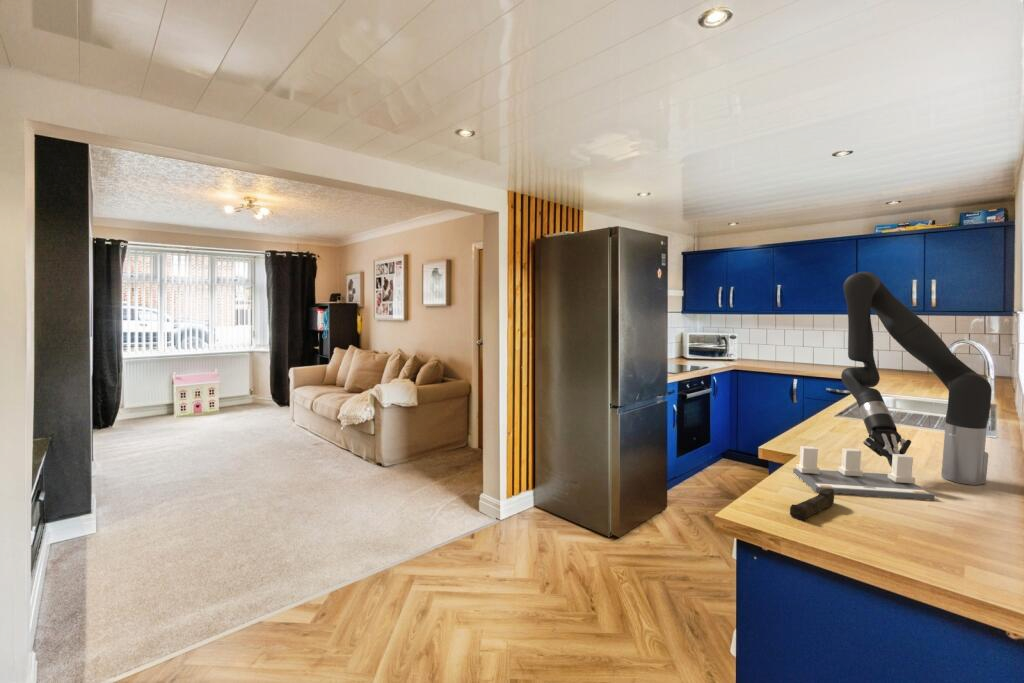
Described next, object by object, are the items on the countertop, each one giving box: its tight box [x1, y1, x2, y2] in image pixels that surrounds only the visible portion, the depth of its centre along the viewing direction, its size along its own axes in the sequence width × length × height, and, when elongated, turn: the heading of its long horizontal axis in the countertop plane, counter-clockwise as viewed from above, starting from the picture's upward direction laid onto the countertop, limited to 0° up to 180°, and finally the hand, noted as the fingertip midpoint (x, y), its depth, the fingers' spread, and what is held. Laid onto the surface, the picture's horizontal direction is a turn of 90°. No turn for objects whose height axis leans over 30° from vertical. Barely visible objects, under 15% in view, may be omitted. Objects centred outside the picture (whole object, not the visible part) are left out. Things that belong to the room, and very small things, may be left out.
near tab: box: [887, 453, 916, 484], centre depth 142 cm, size 5×4×8 cm
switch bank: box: [792, 468, 935, 501], centre depth 143 cm, size 30×16×2 cm, turn 80°
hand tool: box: [789, 489, 835, 522], centre depth 125 cm, size 19×4×5 cm, turn 121°
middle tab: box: [837, 447, 864, 476], centre depth 148 cm, size 5×4×8 cm
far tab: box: [796, 445, 821, 474], centre depth 150 cm, size 5×4×8 cm
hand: (897, 468), depth 144 cm, fingers closed
